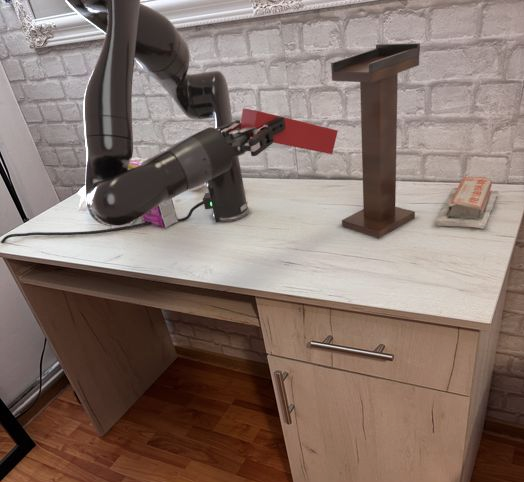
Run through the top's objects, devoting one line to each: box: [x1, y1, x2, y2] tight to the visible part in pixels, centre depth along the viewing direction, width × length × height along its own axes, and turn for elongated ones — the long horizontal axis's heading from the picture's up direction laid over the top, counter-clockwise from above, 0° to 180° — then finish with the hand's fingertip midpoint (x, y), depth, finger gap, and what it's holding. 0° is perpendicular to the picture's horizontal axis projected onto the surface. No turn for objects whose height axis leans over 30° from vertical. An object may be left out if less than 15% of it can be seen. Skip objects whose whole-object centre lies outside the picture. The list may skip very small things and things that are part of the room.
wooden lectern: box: [330, 42, 421, 240], centre depth 98 cm, size 13×11×34 cm
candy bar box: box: [128, 156, 179, 229], centre depth 125 cm, size 11×5×16 cm, turn 47°
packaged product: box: [435, 176, 499, 230], centre depth 105 cm, size 18×5×10 cm
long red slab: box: [240, 107, 339, 155], centre depth 89 cm, size 20×4×4 cm, turn 127°
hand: (274, 120), depth 86 cm, fingers closed on long red slab, 4 cm apart
